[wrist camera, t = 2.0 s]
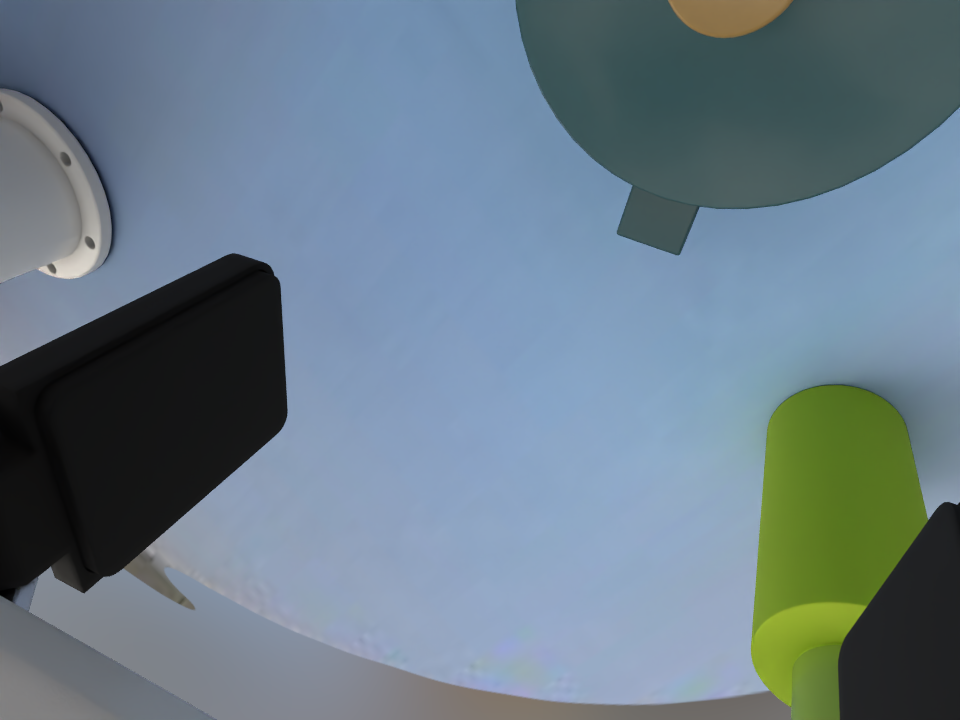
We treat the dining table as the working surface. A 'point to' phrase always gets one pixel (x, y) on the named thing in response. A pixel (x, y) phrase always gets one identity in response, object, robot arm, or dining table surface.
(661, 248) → the teal round container
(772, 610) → the soap dispenser
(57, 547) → the robot arm
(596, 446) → the dining table surface
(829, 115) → the pot lid
